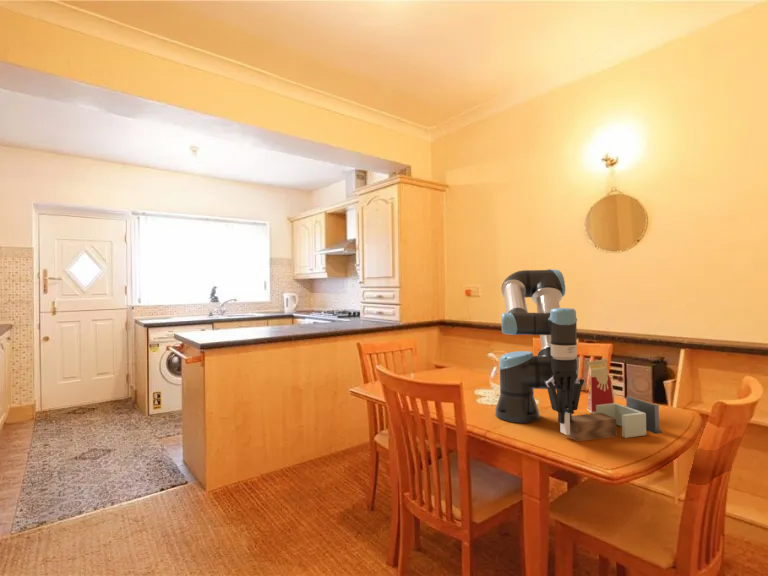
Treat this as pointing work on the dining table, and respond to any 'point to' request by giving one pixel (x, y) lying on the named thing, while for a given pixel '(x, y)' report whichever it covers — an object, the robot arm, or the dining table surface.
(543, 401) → the dining table surface
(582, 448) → the dining table surface
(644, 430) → the socket block
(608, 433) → the walnut bar
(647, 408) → the plate
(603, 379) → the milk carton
